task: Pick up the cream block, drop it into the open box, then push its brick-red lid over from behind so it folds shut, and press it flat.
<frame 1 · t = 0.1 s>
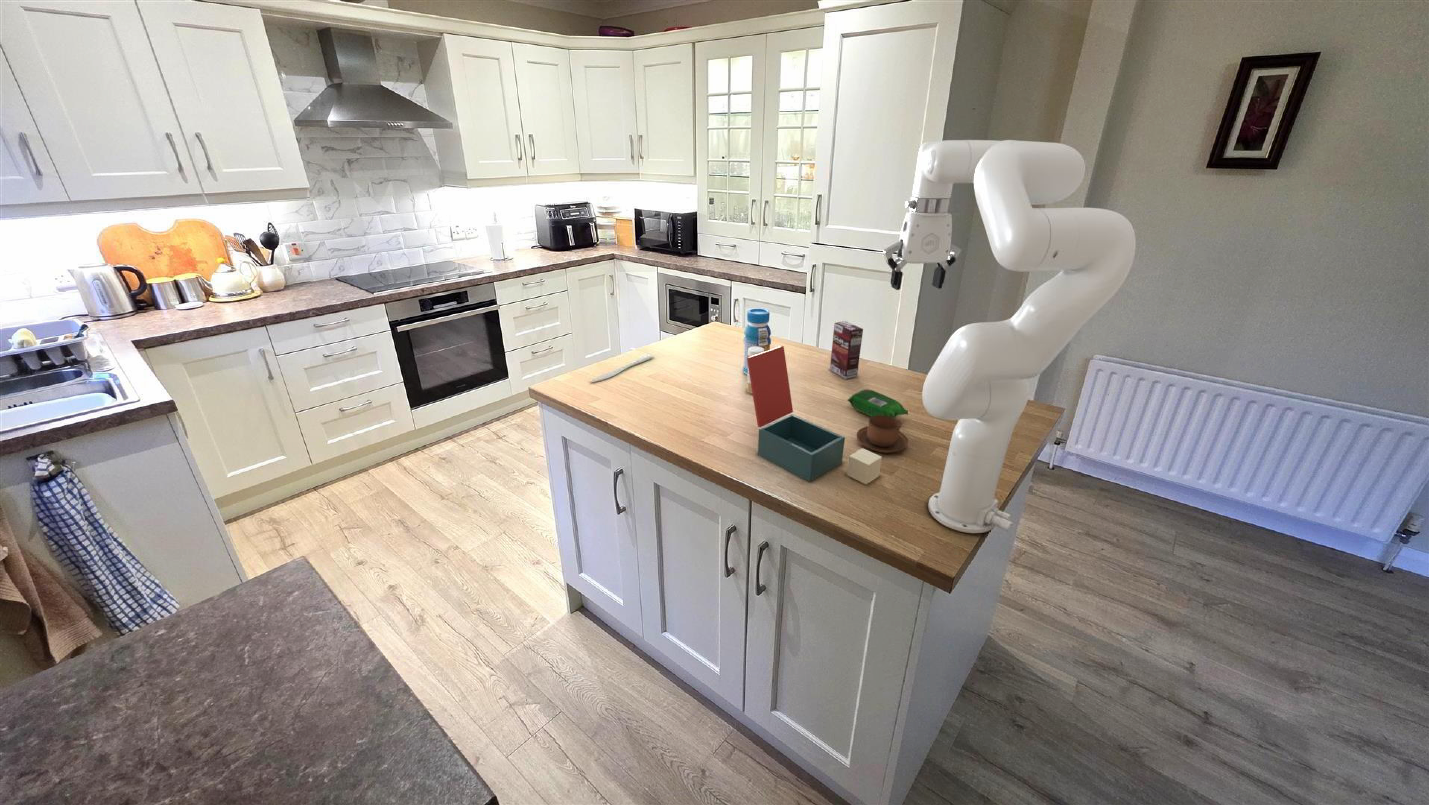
hand: (916, 287, 122), 37 cm above the countertop, tool pointing down, fingers open, 9 cm apart
snack package: (875, 414, 148), on the countertop
block: (862, 475, 121), on the countertop
supplement box: (843, 374, 174), on the countertop
sprinkles bottle: (754, 392, 161), on the countertop
beverage bottle: (755, 372, 174), on the countertop
cup and saucer: (880, 445, 134), on the countertop
lid: (770, 386, 127), point 15 cm above the countertop, hinge at 105.1°
butter knife: (624, 369, 176), on the countertop
open box: (799, 458, 127), on the countertop
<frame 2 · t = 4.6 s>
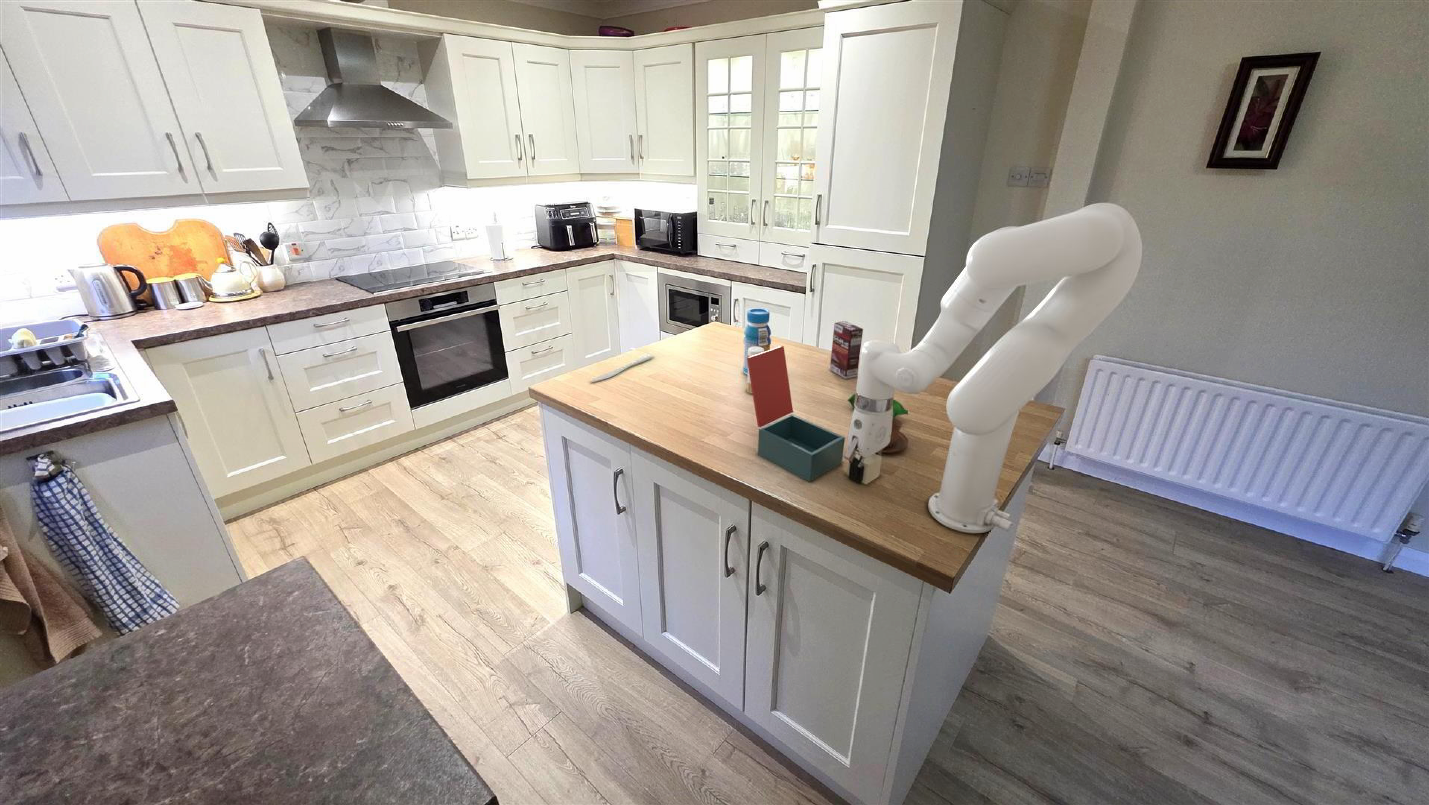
hand: (863, 474, 121), 0 cm above the countertop, tool pointing down, fingers closed on block, 5 cm apart
block: (862, 475, 121), on the countertop, touching gripper
everything else where it was.
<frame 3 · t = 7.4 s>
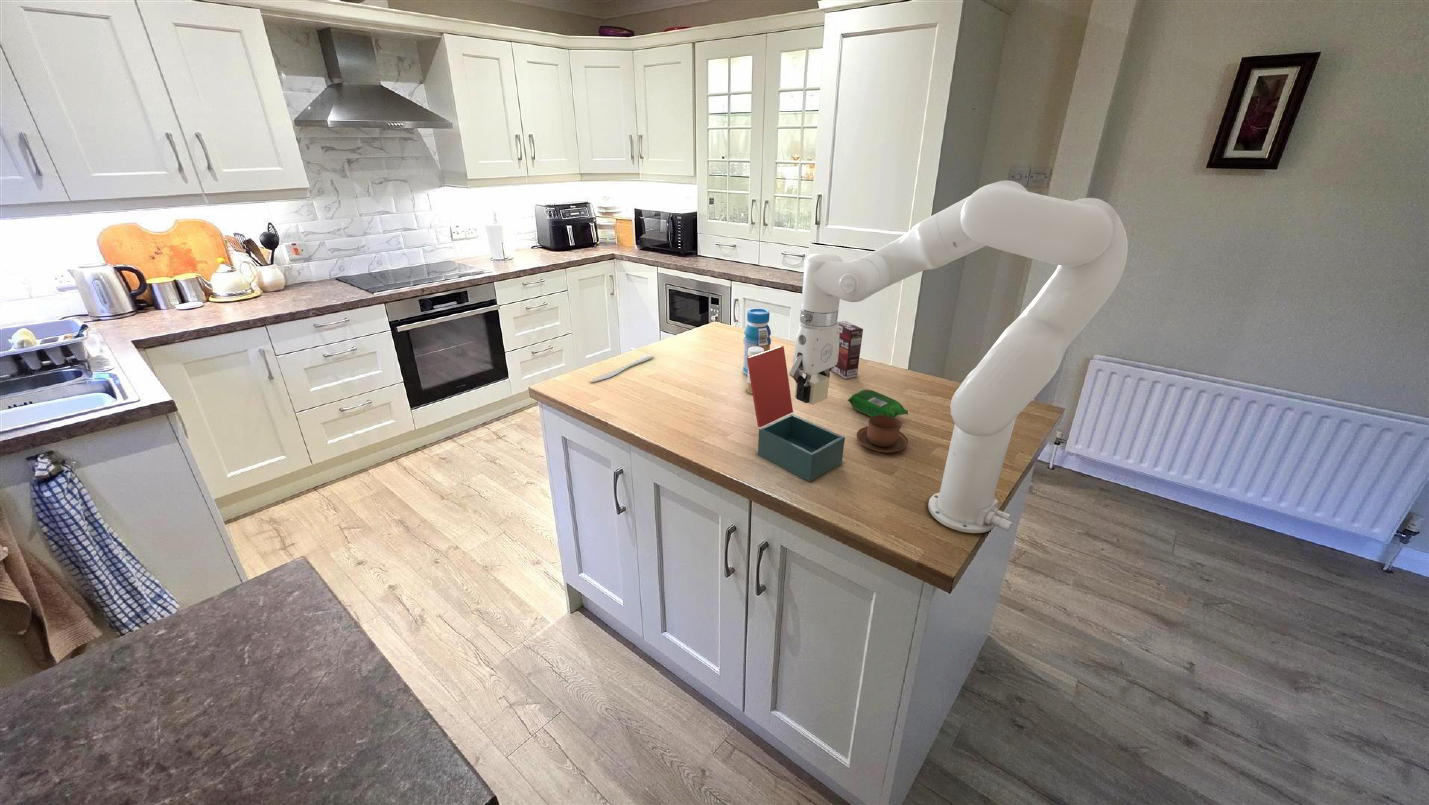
hand: (811, 396, 120), 16 cm above the countertop, tool pointing down, fingers closed on block, 5 cm apart
block: (810, 398, 120), point 16 cm above the countertop, touching gripper
everything else where it was.
when the fingers open (6 cm above the countertop, at t = 11.0 s): block stays where it is, resting on open box.
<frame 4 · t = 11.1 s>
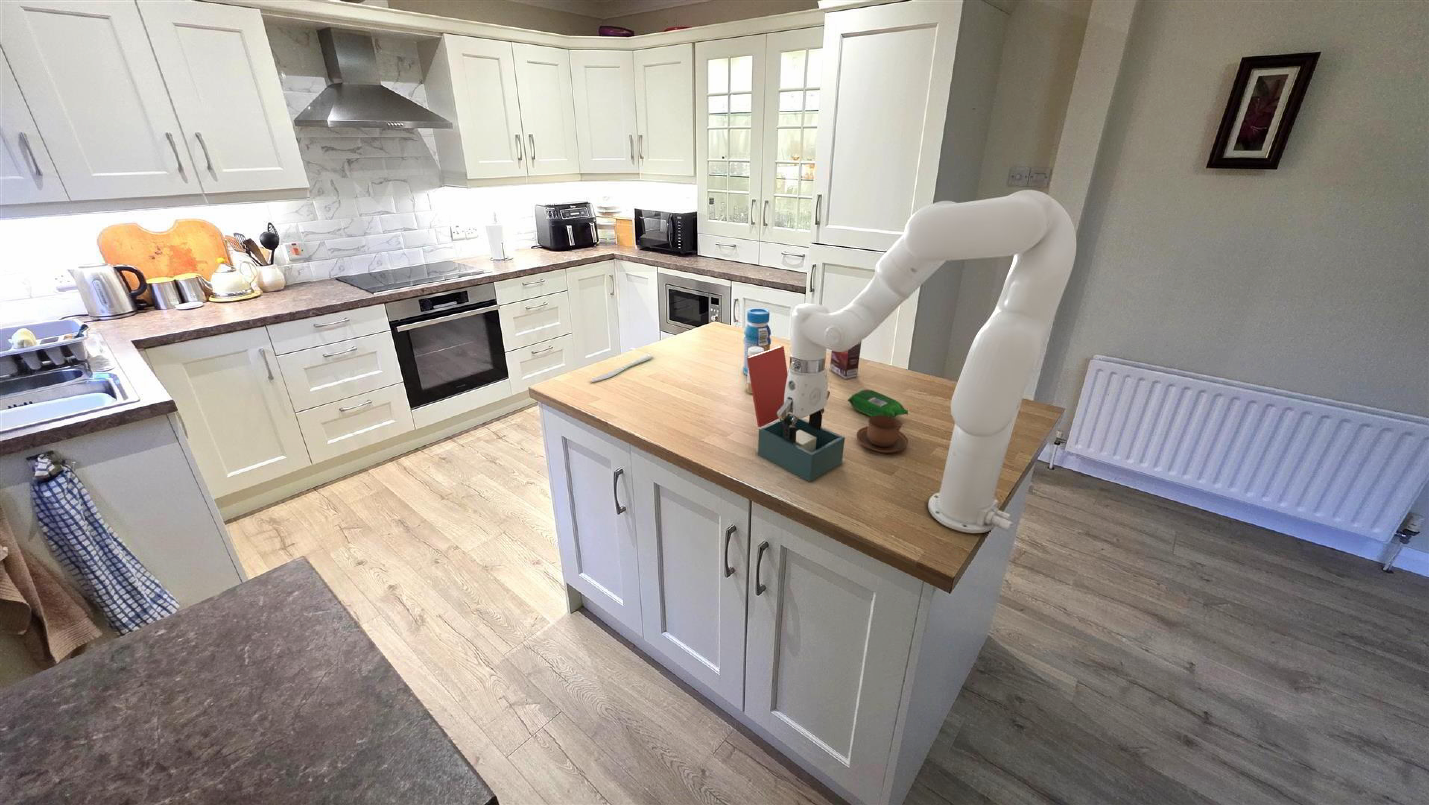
hand: (802, 434, 124), 7 cm above the countertop, tool pointing down, fingers open, 8 cm apart
block: (799, 455, 127), point 1 cm above the countertop, touching open box
everything else where it was.
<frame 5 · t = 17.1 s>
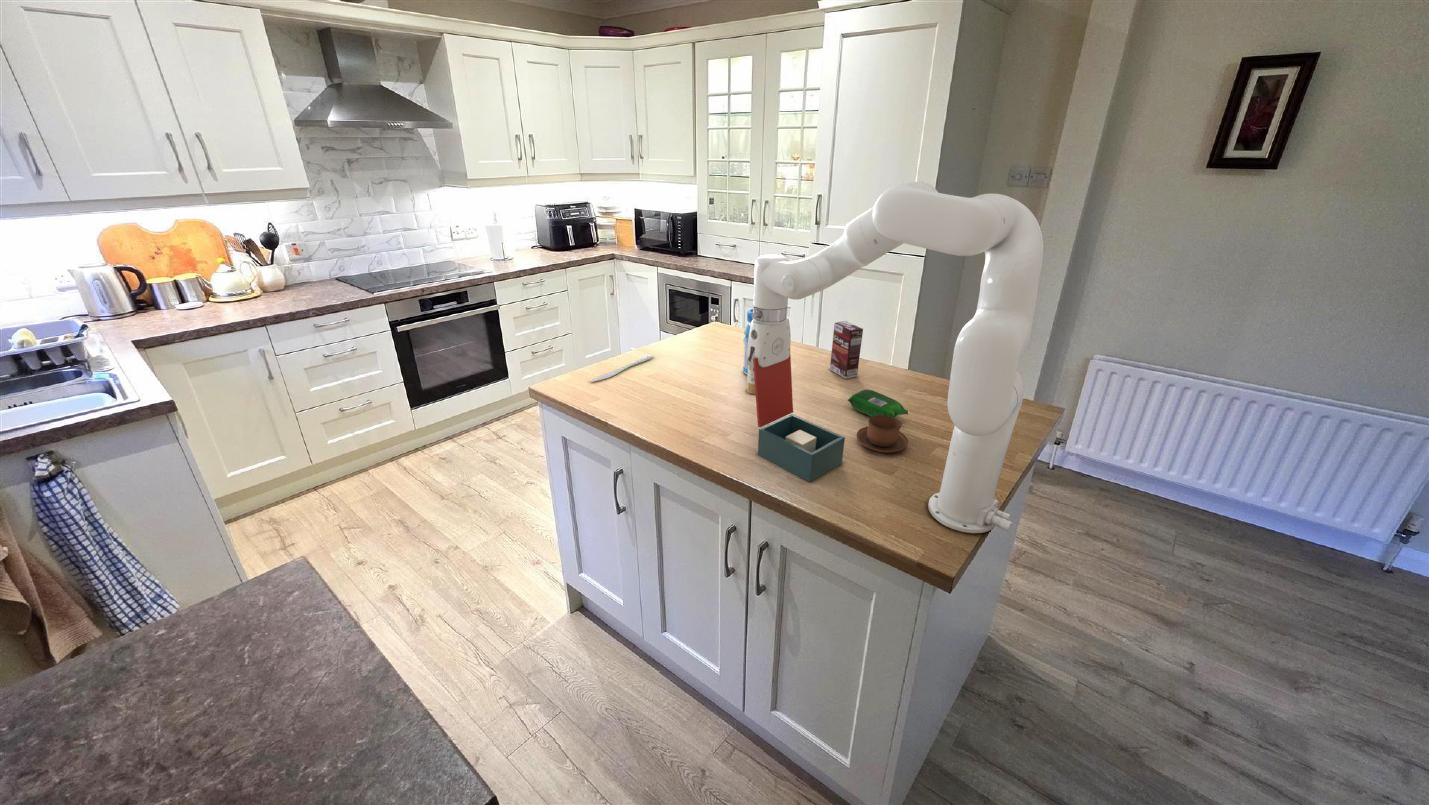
hand: (766, 388, 129), 14 cm above the countertop, tool pointing down, fingers closed
lid: (774, 386, 127), point 15 cm above the countertop, hinge at 98.1°
everything else where it was.
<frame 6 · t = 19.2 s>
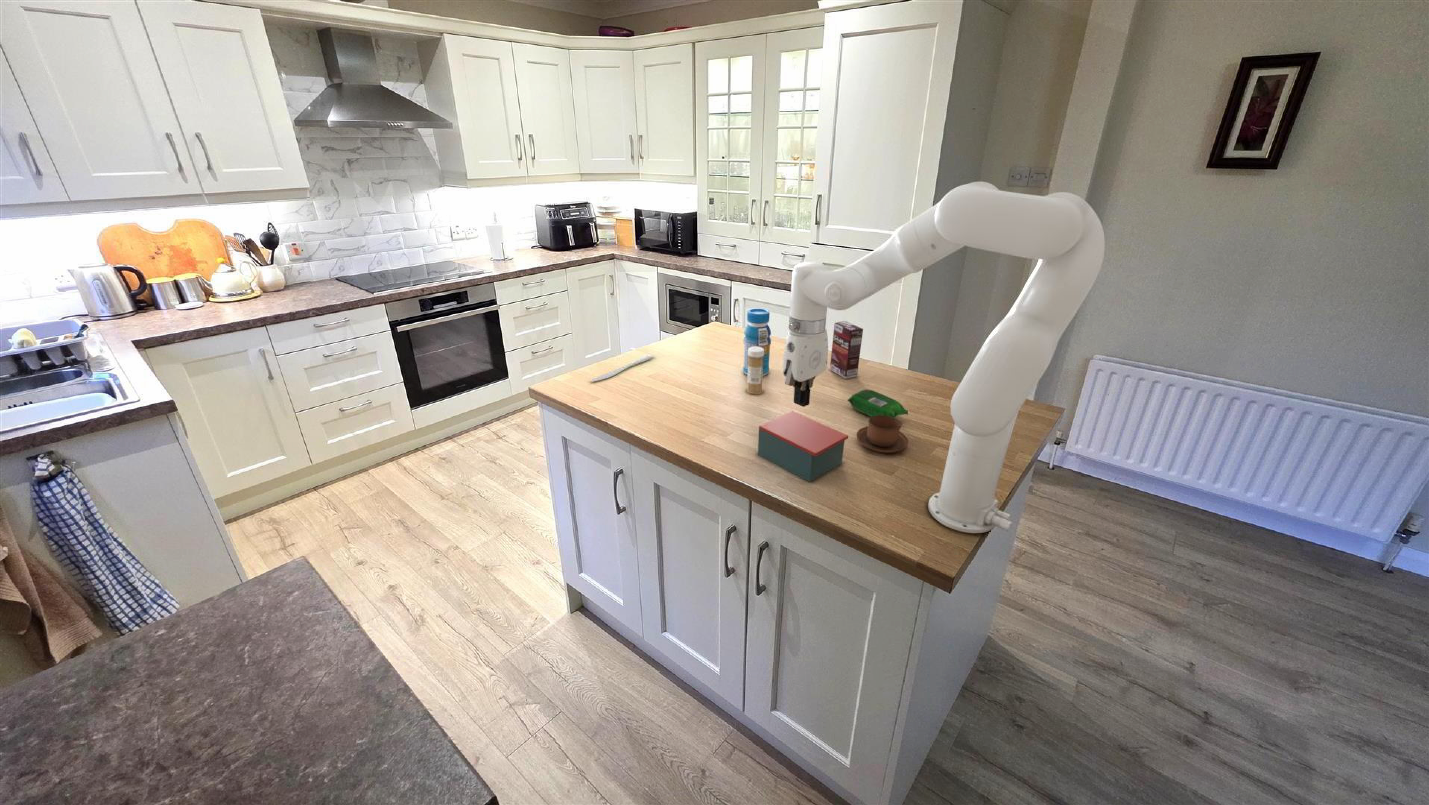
hand: (801, 403, 122), 14 cm above the countertop, tool pointing down, fingers closed
lid: (802, 432, 124), point 7 cm above the countertop, hinge at -0.1°
everything else where it was.
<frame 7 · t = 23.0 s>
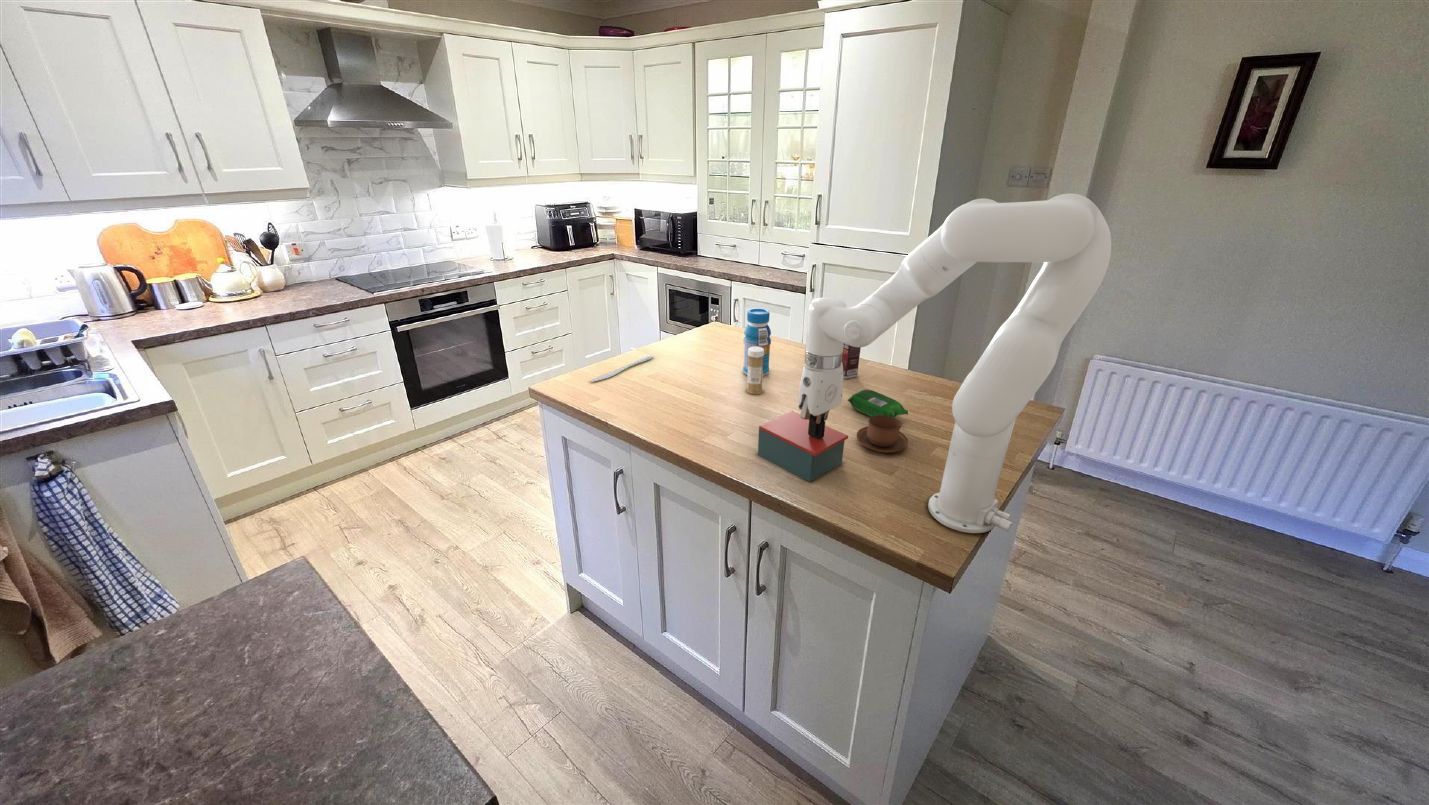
hand: (815, 435, 121), 8 cm above the countertop, tool pointing down, fingers closed
nothing on the countertop moved.
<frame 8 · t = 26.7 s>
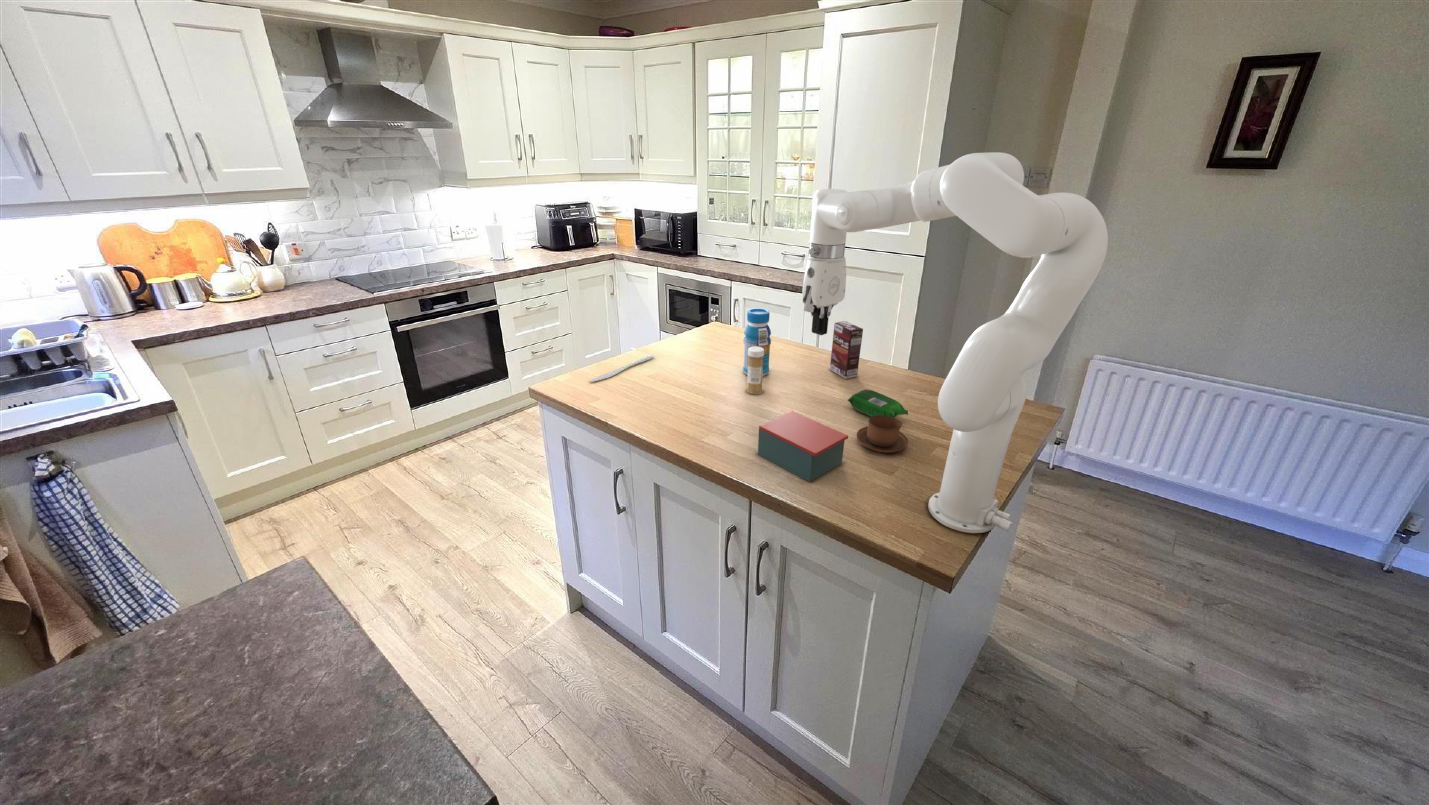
hand: (819, 333, 125), 27 cm above the countertop, tool pointing down, fingers closed
nothing on the countertop moved.
at the end: block inside the target area in the open box (0.0 cm from its centre), point 0.8 cm above the open box's base; lid at +0° (first picture: +104°) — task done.
